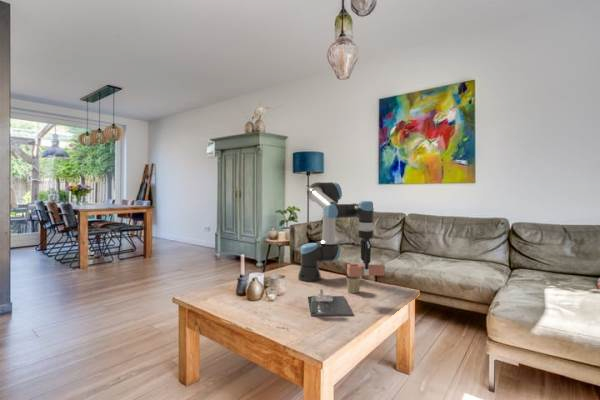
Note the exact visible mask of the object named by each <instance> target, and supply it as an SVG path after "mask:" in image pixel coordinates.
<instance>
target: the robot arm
mask: <svg viewBox="0 0 600 400" xmlns="http://www.w3.org/2000/svg"><path fill="white" fill-rule="evenodd" d="M306 190H307V191H306V195H307V198H308V199H309V200H310V201H311V202H315V203H316V204H317V205H318V206H319V207H320V208H321V209H322V235H321V236H322V237H321V238H322V239H321V240H320V242H319V244H318V243H317V242H309V243H305V244H302V245H301V247H300V269H299V272H298V274H297V275H298V276H297V279H298V280H299V281H302V282H310V283H311V282H317V281H320V280H321V277H322V275H321V272H320V268H319V263H326V262H327V263H328V262H330V263H331V262H336V261H337V260H338V259H339V258H340V255H341V247H340V245H339V244H338V242H337V240H336V219H343V218H346V219H347V218H357V219H358V223H357V226H358V238H360V239H361V240H360V259H361V265H364V275H367V276H370V275H369V265H370V263H371V255H372V253H371V252H372V244H371V241H370V239H373V238H374V231H373V230H374V211H375V210H374V209H375V208H374V202H373V201H372V200H368V201H367V200H359V202H358V203H339V201H340V200H341V199H342V197H343V191H342V188H341V185H340V184H339V183H337V182H332V181H331V182H328V181H327V182H314V183H312V184H310V185H309V186H308V187H307V189H306Z"/></svg>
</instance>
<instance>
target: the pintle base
mask: <svg viewBox="0 0 600 400" xmlns="http://www.w3.org/2000/svg"><path fill="white" fill-rule="evenodd" d="M307 302H308V306H309V307H308V309H309V314H310V317H340V316H341V317H342V316H344V317H345V316H346V317H347V316H348V317H350V316H351V317H352V316H353V315H354V313H353V312H352V309H351V306H349V303H348V302H347V300H346V298H345V296H344V295H337V296H336V295H335V296H334V295H324V291H323V289H322V288H321V289H319V291H318V295H311V296H307Z"/></svg>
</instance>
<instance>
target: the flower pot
mask: <svg viewBox="0 0 600 400" xmlns="http://www.w3.org/2000/svg"><path fill="white" fill-rule="evenodd" d="M362 278H363V276H362V277H349V275H348V274H347V275H346V276H345V280H346V283H347V284H346V285H347V292H349V294H359V292H360V286H361V281H362Z"/></svg>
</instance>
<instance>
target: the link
mask: <svg viewBox="0 0 600 400" xmlns="http://www.w3.org/2000/svg"><path fill="white" fill-rule="evenodd" d="M346 266H347V267H346V274H347V276H348V275H349V277H362V278H363V276H367V277H368V276H385V275H386V267H385V265H384V264H369V275H364V265H362V264H360V263H347V264H346Z"/></svg>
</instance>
